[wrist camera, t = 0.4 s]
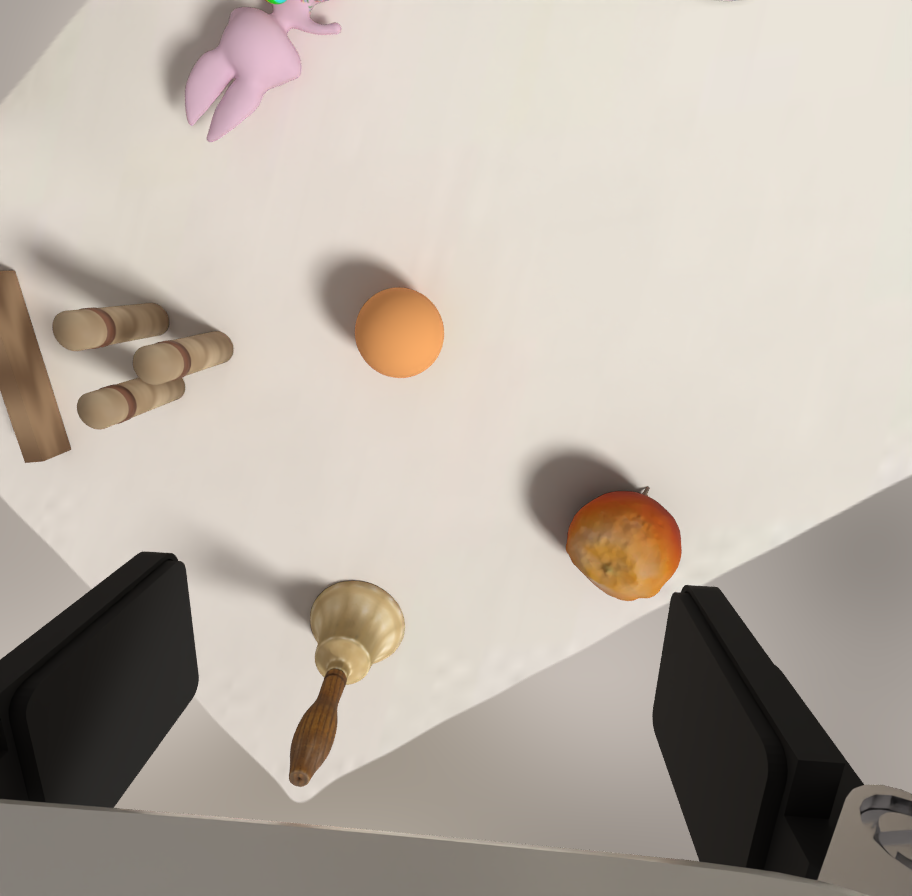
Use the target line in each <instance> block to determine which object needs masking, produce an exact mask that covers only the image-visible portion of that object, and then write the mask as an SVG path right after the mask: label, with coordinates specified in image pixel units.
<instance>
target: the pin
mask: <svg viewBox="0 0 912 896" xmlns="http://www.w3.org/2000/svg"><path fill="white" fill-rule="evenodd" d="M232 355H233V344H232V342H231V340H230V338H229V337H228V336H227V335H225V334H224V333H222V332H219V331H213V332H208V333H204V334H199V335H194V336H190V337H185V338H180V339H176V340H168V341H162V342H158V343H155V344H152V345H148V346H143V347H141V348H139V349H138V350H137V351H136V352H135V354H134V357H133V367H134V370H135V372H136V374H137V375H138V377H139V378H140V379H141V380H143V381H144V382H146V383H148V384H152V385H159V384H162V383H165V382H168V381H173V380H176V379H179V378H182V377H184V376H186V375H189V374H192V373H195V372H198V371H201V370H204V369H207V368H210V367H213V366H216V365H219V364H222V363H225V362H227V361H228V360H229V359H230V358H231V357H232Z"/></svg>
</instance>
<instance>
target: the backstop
mask: <svg viewBox="0 0 912 896" xmlns="http://www.w3.org/2000/svg"><path fill="white" fill-rule="evenodd" d="M0 391H1V394H2V397H3V400H4V403H5V405H6V408H7V411H8V414H9V417H10V420H11V423H12V426H13V429H14V432H15V435H16V438H17V440H18V443H19V446H20V449H21V452H22V455H23V458H24V461H25V463H29V462H41V461H45V460H48V459H50V458H52V457H55V456H57V455H60V454H62V453H64V452H67V451H69V450H71V447H70V444H69V440H68V437H67V434H66V431H65V428H64V425H63V421H62V418H61V415H60V412H59V409H58V406H57V402H56V399H55V396H54V393H53V390H52V387H51V383H50V380H49V377H48V374H47V371H46V368H45V364H44V361H43V358H42V355H41V352H40V349H39V345H38V342H37V339H36V336H35V333H34V330H33V326H32V323H31V320H30V317H29V314H28V310H27V307H26V304H25V301H24V298H23V295H22V291H21V288H20V285H19V282H18V279H17V276H16V272H15V271H0Z"/></svg>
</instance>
